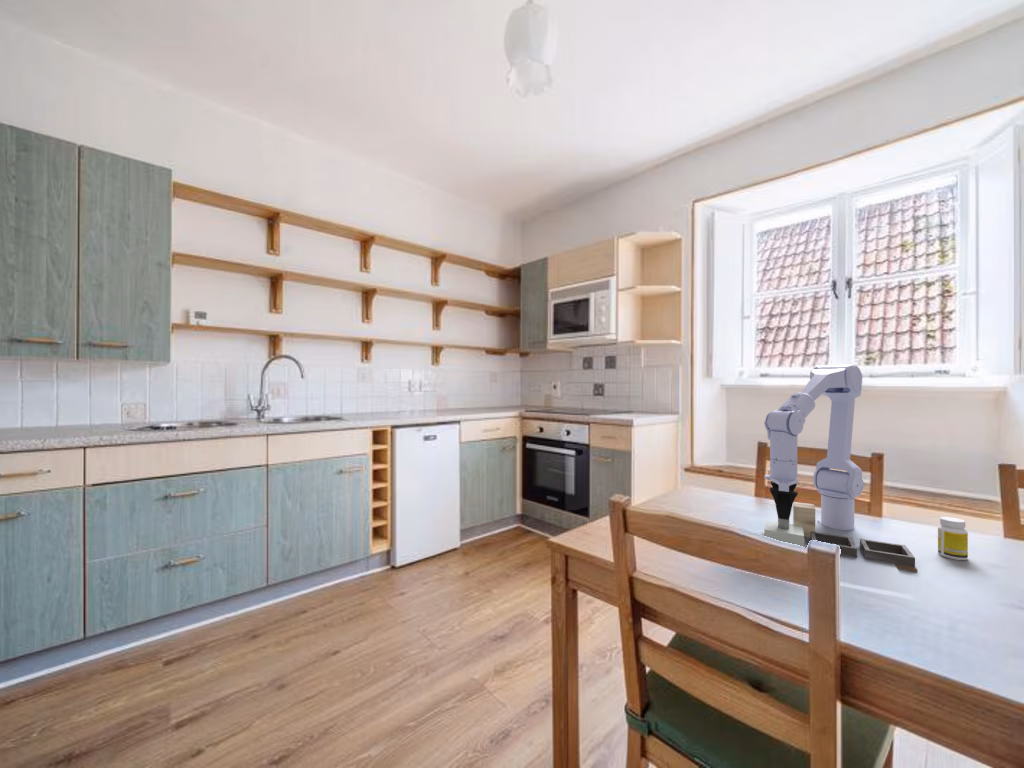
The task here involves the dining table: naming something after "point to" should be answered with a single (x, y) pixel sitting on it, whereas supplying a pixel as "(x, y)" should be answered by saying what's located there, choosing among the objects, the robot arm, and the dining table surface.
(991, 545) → the dining table surface
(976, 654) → the dining table surface
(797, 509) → the maple peg
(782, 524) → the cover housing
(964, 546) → the supplement bottle
